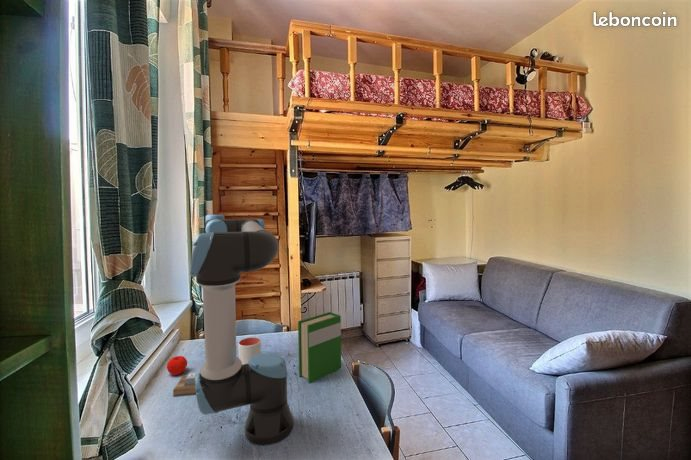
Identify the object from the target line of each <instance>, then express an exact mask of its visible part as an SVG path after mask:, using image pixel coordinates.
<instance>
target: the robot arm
mask: <svg viewBox="0 0 691 460" xmlns="http://www.w3.org/2000/svg"><path fill="white" fill-rule="evenodd" d="M204 221H205V222H204V223H205V229H204V230H205V232H203V233H198V234H196V235H195V236H194V238H193V244H192V252H191V261H190V269H189V270H190V271H189V275H190V277H193V278H195V281H196V284H197V285H199V286H200V287H202V288H201V289H202V304H203V305H202V307H203V328H204V329H203V330H204V332H203V334H204V355H205V356H204V357H205V358H204V360H205V361H204V363H203V364H202V365H201V367H200V369H199V372H200V373H198V374H196V376H195V388H196V394H195V397H196V402H197V403H196V404H197V406H198V410H199V412H200V413H201V414H203V415H210V414H218V413H220V412H224V411H227V410H232V409H235V408H236V409H237V408H240V407H244V406H248V405H249V411H248V415H247V417H246V420H245V422H244V423H245V424H244V435H245V438H246V440H247V441H249V443H251V444H254V445H256V446H257V445H258V446H268V445H273V444H276V443H279V442H281V441H282V440H284V439H285V438H287V437H288V436H289V435H290V434H291V433H292V431H293V429H294V416H293V413H292V412H291V409H290V406H289V403H288V384H287V383H288V378H287V376H288V369H287V362H286V360H285V358H284V357H282V356H281V355H278V354H275V353H270V352H269V353H268V352H267V353H261V354H257V355H255V356H252V357H251V358H250V359H249V361H248V364H243V365H242V362H241V360H240V359H239V356H238V357H237V322H236V321H237V317H236V312H237V311H236V284H238V282H239V281H241V273H249V272H255V271H258V270H261V269H264V268H265V267H267V266H269V265H270V264H271V263H273V261H274V260H275V258H276V257H277V256H278V253H279V249H280V246H279V241H278V239H277V237H276V235H275V234H273V233H272V232H271V231H269V230H266V226H265V225H266V224H265V221H264V219H262V218H247V219H246V218H245V219H244V218H241V219H238V218H237V219H231V218H230V219H227V218H225V215H224V214H207V215H205V220H204Z"/></svg>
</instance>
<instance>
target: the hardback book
mask: <svg viewBox="0 0 691 460" xmlns="http://www.w3.org/2000/svg"><path fill="white" fill-rule="evenodd" d="M341 318H342V317H341V315H340V314H337V313H333V312H331V311H329V312H325V313H322V314H318V315H315V316H311V317H308V318H305V319H301V320H298V321H297V332H298V333H297V335H298V336H297V337H298V340H297V341H298V376H299V378H302V377H303V378H305V379H307V382H308V384H312V383H313V382H315V381H317V380H319V379H322V378H324V377H326V376H328V375H330V374H333V373H334V371H335V372H336V370H337V371H338V369H339V370H340V368H341V369H342V328H341V327H342V323H341V322H342V319H341Z"/></svg>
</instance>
